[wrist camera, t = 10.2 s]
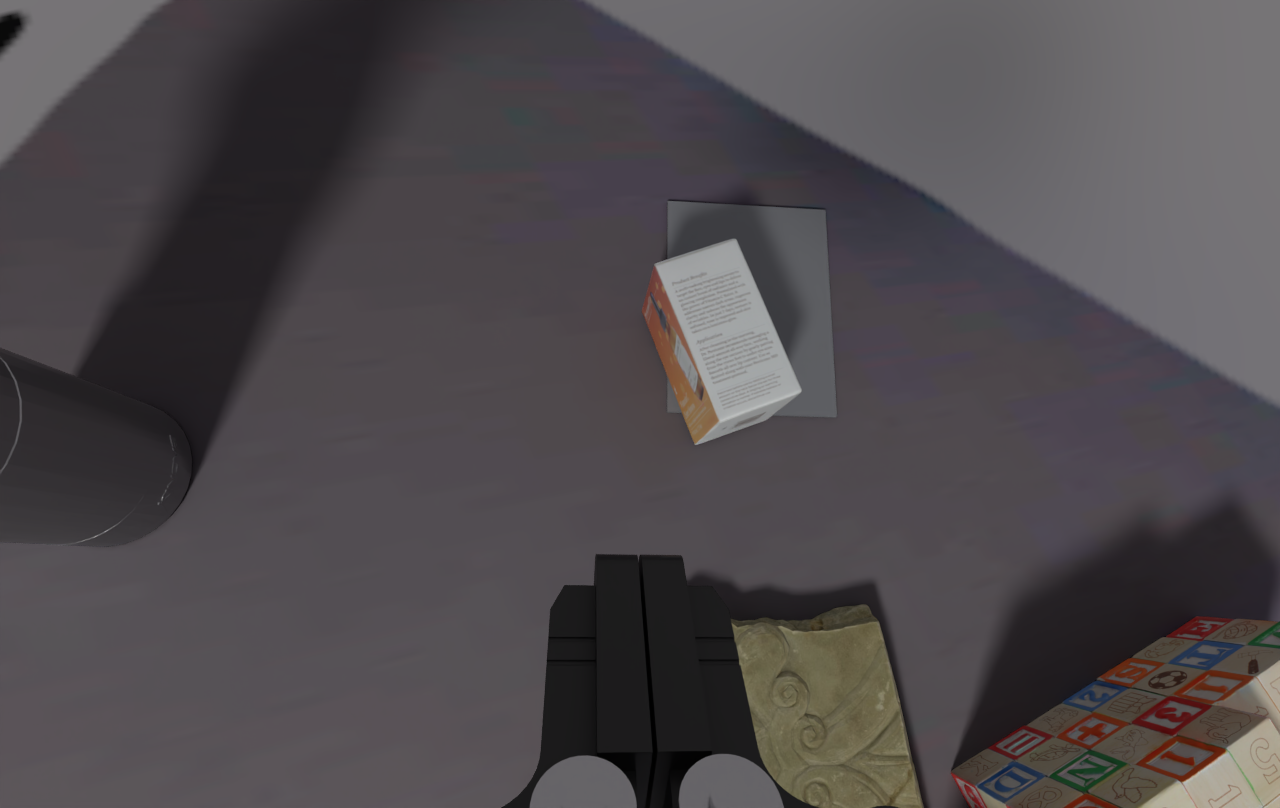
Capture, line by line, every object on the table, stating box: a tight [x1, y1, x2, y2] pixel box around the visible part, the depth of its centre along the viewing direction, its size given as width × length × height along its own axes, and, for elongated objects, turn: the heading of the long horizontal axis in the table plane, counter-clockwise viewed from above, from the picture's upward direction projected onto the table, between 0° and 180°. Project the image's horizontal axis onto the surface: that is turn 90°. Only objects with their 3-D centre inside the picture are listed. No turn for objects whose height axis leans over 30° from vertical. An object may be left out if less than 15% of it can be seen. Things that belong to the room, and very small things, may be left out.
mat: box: [667, 201, 837, 418], centre depth 50 cm, size 12×16×1 cm
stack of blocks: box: [951, 616, 1280, 808], centre depth 40 cm, size 21×6×12 cm, turn 117°
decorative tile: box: [731, 604, 924, 808], centre depth 42 cm, size 19×20×4 cm
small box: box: [642, 239, 802, 445], centre depth 45 cm, size 8×6×10 cm
